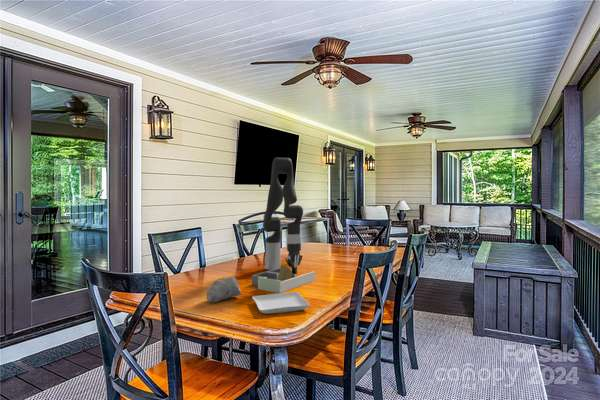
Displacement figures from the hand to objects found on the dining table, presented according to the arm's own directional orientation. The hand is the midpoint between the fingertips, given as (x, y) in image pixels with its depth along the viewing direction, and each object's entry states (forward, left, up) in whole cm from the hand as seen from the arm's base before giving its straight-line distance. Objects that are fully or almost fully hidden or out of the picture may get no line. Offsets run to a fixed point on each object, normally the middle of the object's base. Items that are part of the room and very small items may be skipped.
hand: (294, 274), depth 205 cm
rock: (-1, -5, -5) cm, 7 cm away
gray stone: (-7, -44, -5) cm, 45 cm away
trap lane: (-5, -6, -5) cm, 9 cm away
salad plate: (+21, -38, -5) cm, 44 cm away
